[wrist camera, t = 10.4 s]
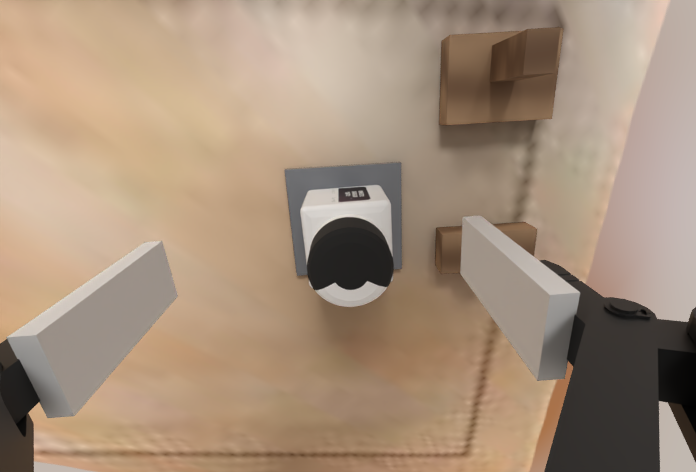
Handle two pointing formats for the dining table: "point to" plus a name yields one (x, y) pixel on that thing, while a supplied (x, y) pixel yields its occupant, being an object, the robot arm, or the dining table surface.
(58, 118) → the dining table surface
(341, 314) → the dining table surface
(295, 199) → the plate
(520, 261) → the robot arm
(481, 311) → the dining table surface
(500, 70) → the pair of wooden stands
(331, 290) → the container
